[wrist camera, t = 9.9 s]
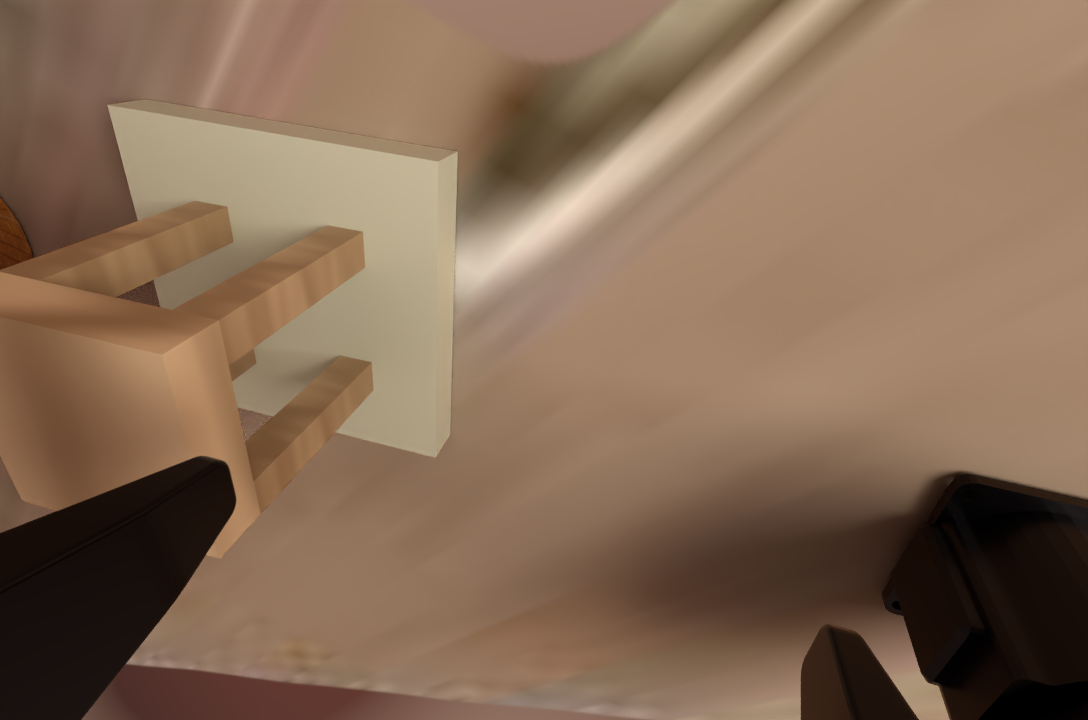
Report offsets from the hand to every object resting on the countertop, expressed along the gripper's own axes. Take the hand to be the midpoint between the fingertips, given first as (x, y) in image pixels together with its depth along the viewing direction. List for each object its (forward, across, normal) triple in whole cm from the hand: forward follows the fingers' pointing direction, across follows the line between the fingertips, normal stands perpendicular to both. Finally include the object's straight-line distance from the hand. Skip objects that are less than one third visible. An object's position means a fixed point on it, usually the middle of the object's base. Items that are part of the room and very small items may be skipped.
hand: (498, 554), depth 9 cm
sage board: (+12, +11, +3) cm, 16 cm away
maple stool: (+10, +11, +3) cm, 15 cm away
